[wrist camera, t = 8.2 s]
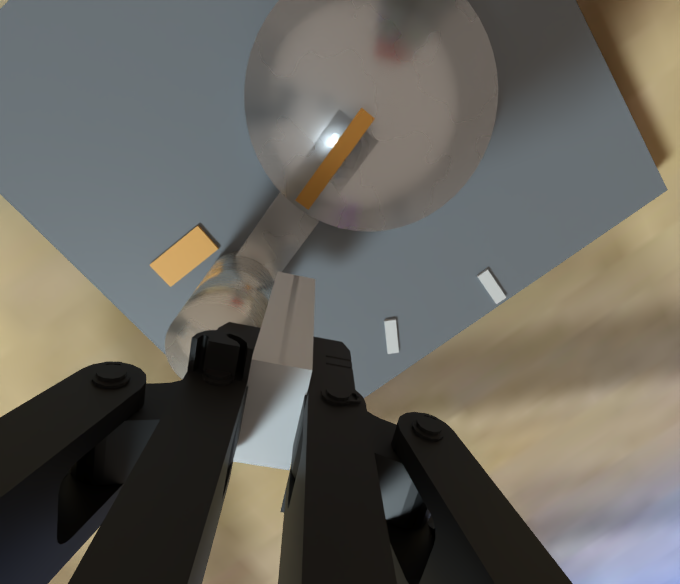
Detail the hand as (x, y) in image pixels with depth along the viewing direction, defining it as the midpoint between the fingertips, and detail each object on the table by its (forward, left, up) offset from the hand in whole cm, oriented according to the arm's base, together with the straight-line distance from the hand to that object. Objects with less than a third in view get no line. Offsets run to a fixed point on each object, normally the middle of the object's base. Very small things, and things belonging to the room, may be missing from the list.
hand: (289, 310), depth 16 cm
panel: (-4, +4, -5) cm, 7 cm away
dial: (-3, +4, -3) cm, 6 cm away
